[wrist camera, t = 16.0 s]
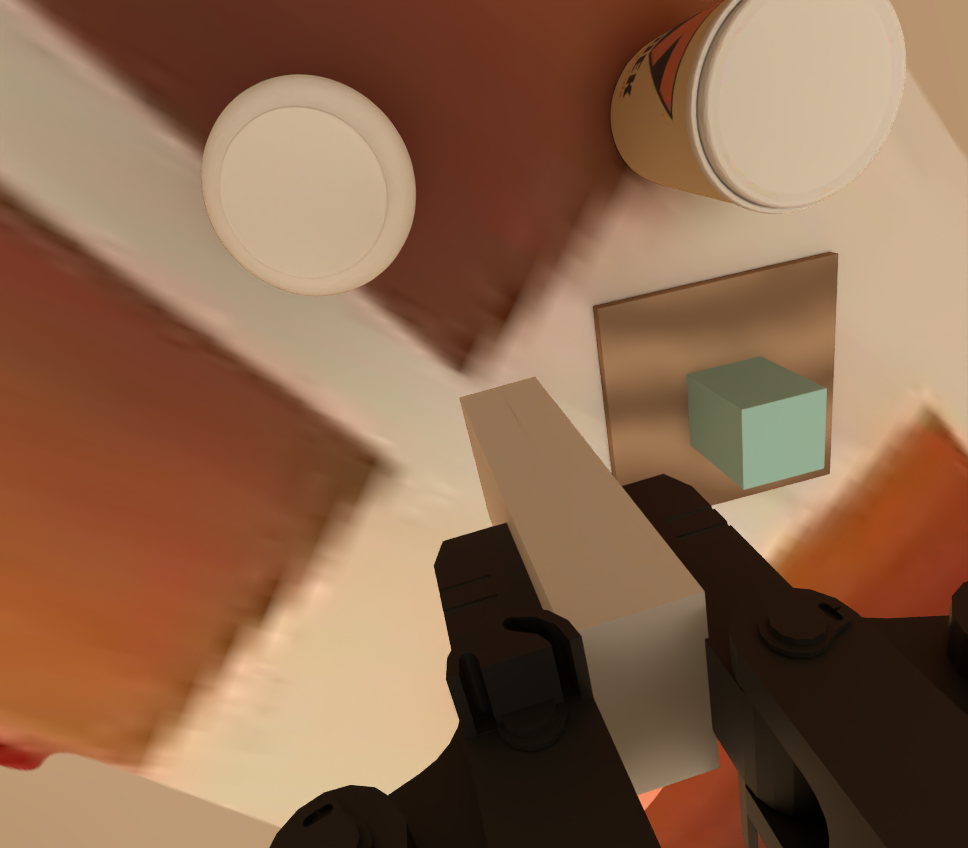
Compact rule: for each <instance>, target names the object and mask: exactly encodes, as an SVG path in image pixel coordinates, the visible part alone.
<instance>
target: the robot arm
mask: <svg viewBox="0 0 968 848" xmlns="http://www.w3.org/2000/svg"><path fill="white" fill-rule="evenodd" d="M460 402H461V406H462V410H463V414H464V418H465V422H466V426H467V430H468V434H469V438H470V442H471V446H472V450H473V454H474V458H475V462H476V466H477V470H478V474H479V478H480V482H481V486H482V490H483V494H484V498H485V502H486V506H487V509H488V513H489V517H490V520H491V522H492V525H493V527H489V528H486V529H483V530H479V531H476V532H473V533H469V534H466V535H462V536H459V537H456V538H452V539H449V540H445V541H443V543H442V545H441V548H440V551H439V553H438V556H437V559H436V561H435V564H434V569H435V574H436V578H437V583H438V588H439V592H440V597H441V602H442V607H443V611H444V617H445V621H446V626H447V631H448V636H449V640H450V645H451V652H450V654H449V656H448V658H447V671H446V681H447V684H448V687H449V690H450V693H451V696H452V699H453V702H454V705H455V708H456V711H457V714H458V717H459V725H458V728H457V730H456V732H455V734H454V736H453V738H452V740H451V742H450V744H449V745H448V746H447V748H446V749H445V750H444V751H443V752H442V754H441V755H440V756H439V757H438V759H437V760H436V761H434V762H433V763H432V764H431V765H430V766H428V767H427V768H426V769H425V770H424V771H422V772H421V773H420V774H419V775H417V776H416V777H414V778H413V779H411V780H410V781H408V782H407V783H405V784H404V785H402V786H401V787H399V788H398V789H397V790H395V791H394V792H392V793H391V794H389V795H386V794H385V793H383V792H382V791H380V790H378V789H377V788H375V787H367V786H356V785H349V786H345V787H342V788H338V789H335V790H331V791H328V792H324V793H323V794H321V795H320V796H318V797H316V798H315V799H313V800H312V801H310V802H309V803H307V804H306V805H304V806H303V807H301V808H300V809H298V810H297V811H296V813H295V814H294V815H293V816H292V817H291V818H290V819H289V820H288V822H287V823H286V824H285V825H284V826H283V827H282V828H281V829H280V831H279V832H278V833H277V834H276V836H275V838H274V840H273V842H272V844H271V846H270V848H661V847H660V844H659V842H658V840H657V838H656V836H655V833H654V831H653V829H652V827H651V824H650V822H649V820H648V818H647V815H646V813H645V811H644V809H643V807H642V804H641V802H640V800H639V798H638V795H640V794H643V793H646V792H649V791H652V790H655V789H658V788H661V787H664V786H667V785H670V784H673V783H676V782H679V781H682V780H684V779H687V778H690V777H693V776H696V775H699V774H702V773H705V772H708V771H711V770H714V769H717V768H719V758H718V746H717V738H718V740H719V741H720V743H721V745H722V746H723V748H724V749H725V751H726V753H727V754H728V756H729V758H730V759H731V761H732V762H733V764H734V766H735V767H736V769H737V770H738V780H739V795H740V810H741V826H742V836H743V838H744V841H745V844H746V847H747V848H758V834H757V831H758V833H759V835H760V837H761V838H762V840H763V842H764V843H765V845H766V847H767V848H968V581H967V582H964V583H963V584H962V585H961V586H960V587H959V589H958V590H957V591H956V592H955V593H954V594H953V595H952V599H951V607H950V615H949V616H928V617H907V618H863V617H861V616H860V615H859V614H858V613H857V612H855V611H854V610H852V609H851V608H849V607H848V606H846V605H845V604H843V603H842V602H841V601H839V600H838V599H836V598H834V597H831V596H828V595H825V594H822V593H819V592H816V591H813V590H810V589H799V588H793V587H792V586H791V585H790V584H789V583H788V582H787V581H786V580H785V579H784V578H783V577H782V576H781V575H780V574H779V573H778V572H777V571H776V570H775V569H774V568H773V567H772V566H771V565H770V564H769V563H768V562H767V561H766V560H765V559H764V558H763V557H762V556H761V555H760V554H759V553H758V552H757V551H756V550H755V549H754V548H753V547H752V546H751V545H750V544H749V543H748V542H747V541H746V540H745V539H744V538H743V537H742V536H741V535H740V534H739V533H738V532H737V531H736V530H735V529H734V528H733V527H732V526H731V525H730V526H728V524H727V521H726V520H725V519H724V518H723V517H722V516H721V515H720V514H719V513H718V512H717V511H716V510H715V509H712V507H711V505H710V504H709V503H708V502H707V501H706V500H705V499H704V498H703V497H702V496H701V495H700V494H699V493H698V492H697V491H696V490H695V489H694V488H693V487H692V486H691V485H688V484H686V483H684V482H681V481H679V480H677V479H675V478H672V477H670V476H668V475H665V474H661V475H657V476H654V477H651V478H647V479H644V480H640V481H637V482H634V483H630V484H627V485H624V486H621V485H620V484H619V482H618V481H617V480H616V479H615V477H614V476H613V475H612V474H611V472H610V471H609V470H608V469H607V467H606V466H605V465H604V463H603V462H602V461H601V460H600V458H599V457H598V456H597V455H596V453H595V452H594V451H593V450H592V448H591V447H590V446H589V444H588V443H587V442H586V441H585V439H584V438H583V437H582V436H581V434H580V433H579V432H578V431H577V429H576V428H575V427H574V425H573V424H572V423H571V422H570V420H569V419H568V418H567V417H566V415H565V414H564V413H563V412H562V410H561V409H560V408H559V407H558V405H557V404H556V403H555V401H554V400H553V399H552V398H551V396H550V395H549V394H548V393H547V391H546V390H545V389H544V388H543V386H542V385H541V384H540V382H539V381H538V380H537V379H536V377H532V378H529V379H525V380H522V381H518V382H514V383H511V384H507V385H503V386H500V387H496V388H493V389H489V390H485V391H482V392H478V393H475V394H471V395H467V396H464V397H460Z"/></svg>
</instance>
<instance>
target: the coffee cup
mask: <svg viewBox="0 0 968 848" xmlns="http://www.w3.org/2000/svg"><path fill="white" fill-rule="evenodd" d="M905 74H906V52H905V43H904V37H903V32H902V29H901V26H900V23H899V20H898V17H897V15H896V12H895V10H894V8H893V6H892V5H891V3H890V1H889V0H721V1H719V2H717V3H716V4H714V5H712V6H711V7H709V8H707V9H705V10H704V11H702V12H700V13H698V14H697V15H695V16H693V17H692V18H690V19H688V20H686V21H685V22H683V23H681V24H680V25H678V26H676V27H674V28H673V29H671V30H669V31H667V32H666V33H664V34H662V35H661V36H659V37H658V38H656V39H654V40H653V41H651V42H650V43H649V44H647V45H646V46H644V47H643V48H642V49H641V50H640V51H639V52H638V53H637V54H635V56H634V57H633V58H632V59H631V60H630V61H629V63H628V64H627V66H626V67H625V69H624V70H623V72H622V74H621V76H620V78H619V80H618V82H617V85H616V88H615V91H614V94H613V98H612V104H611V128H612V134H613V137H614V141H615V144H616V146H617V149H618V151H619V153H620V155H621V156H622V158H623V160H624V161H625V162H626V163H627V165H628V166H629V167H630V168H631V169H632V170H633V171H635V172H636V173H637V174H638V175H640V176H642V177H643V178H645V179H647V180H650V181H653V182H655V183H658V184H661V185H664V186H668V187H672V188H676V189H679V190H683V191H687V192H691V193H694V194H698V195H702V196H706V197H710V198H714V199H718V200H722V201H726V202H730V203H734V204H736V205H738V206H741V207H743V208H746V209H749V210H752V211H756V212H760V213H768V214H781V213H790V212H795V211H799V210H803V209H806V208H809V207H812V206H814V205H816V204H818V203H820V202H822V201H824V200H826V199H827V198H829V197H831V196H832V195H834V194H835V193H837V192H838V191H840V190H841V189H843V188H844V187H845V186H847V185H848V184H849V183H851V182H852V181H853V180H854V179H855V178H856V177H857V176H858V175H859V174H861V172H862V171H863V170H864V169H865V168H866V167H867V166H868V165H869V164H870V162H871V161H872V160H873V158H874V157H875V156H876V155H877V153H878V152H879V150H880V148H881V147H882V145H883V144H884V142H885V140H886V138H887V137H888V135H889V133H890V131H891V128H892V126H893V124H894V121H895V119H896V116H897V113H898V111H899V107H900V103H901V99H902V95H903V90H904V85H905Z"/></svg>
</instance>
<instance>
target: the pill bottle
mask: <svg viewBox="0 0 968 848" xmlns="http://www.w3.org/2000/svg"><path fill="white" fill-rule="evenodd" d="M201 183H202V192H203V198H204V202H205V206H206V210H207V213H208V216H209V218H210V221H211V223H212V225H213V228H214V230H215V231H216V233H217V235H218V237H219V239H220V240H221V242H222V243H223V244H224V246H225V247H226V249H227V250H228V251H229V252H230V254H231V255H232V256H233V257H234V258H235V259H236V260H237V261H238V262H239V263H240V264H241V265H242V266H243V267H245V268H246V269H247V270H248V271H249V272H251V273H252V274H253V275H255V276H256V277H258V278H259V279H261V280H263V281H265V282H266V283H268V284H270V285H273V286H275V287H277V288H280V289H282V290H285V291H289V292H293V293H297V294H303V295H312V296H323V295H333V294H338V293H343V292H347V291H350V290H353V289H355V288H358V287H360V286H362V285H364V284H366V283H368V282H369V281H371V280H373V279H374V278H375V277H377V276H378V275H379V274H381V273H382V272H383V271H384V270H385V269H386V268H387V267H388V266H389V265H390V264H391V263H392V261H393V260H394V259H395V258H396V256H397V255H398V253H399V252H400V250H401V248H402V246H403V245H404V243H405V241H406V239H407V237H408V234H409V232H410V229H411V226H412V222H413V218H414V213H415V204H416V185H415V177H414V171H413V166H412V163H411V159H410V156H409V154H408V151H407V148H406V146H405V144H404V142H403V140H402V138H401V136H400V135H399V133H398V131H397V130H396V128H395V126H394V125H393V124H392V122H391V121H390V120H389V119H388V117H387V116H386V115H385V114H384V113H383V112H382V111H381V110H380V109H379V108H378V107H377V106H376V105H375V104H374V103H373V102H372V101H370V100H369V99H368V98H366V97H365V96H364V95H362V94H361V93H359V92H358V91H356V90H354V89H352V88H350V87H348V86H346V85H344V84H342V83H340V82H337V81H334V80H332V79H328V78H324V77H320V76H314V75H303V74H294V75H284V76H279V77H274V78H270V79H267V80H265V81H262V82H259V83H257V84H256V85H254V86H252V87H250V88H248V89H247V90H245V91H244V92H242V93H241V94H239V95H238V96H237V97H236V98H235V99H233V100H232V101H231V102H230V103H229V104H228V105H227V107H226V108H225V109H224V110H223V112H222V113H221V114H220V116H219V117H218V119H217V121H216V122H215V124H214V126H213V128H212V130H211V132H210V135H209V137H208V139H207V142H206V146H205V149H204V154H203V160H202V169H201Z"/></svg>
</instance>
